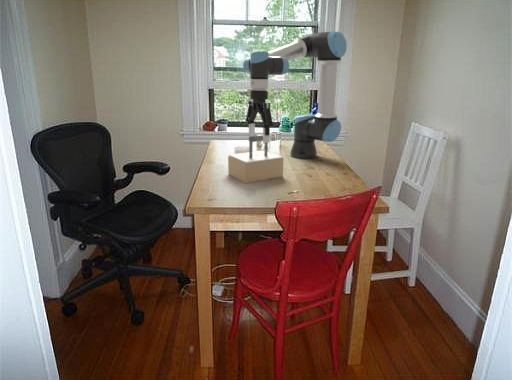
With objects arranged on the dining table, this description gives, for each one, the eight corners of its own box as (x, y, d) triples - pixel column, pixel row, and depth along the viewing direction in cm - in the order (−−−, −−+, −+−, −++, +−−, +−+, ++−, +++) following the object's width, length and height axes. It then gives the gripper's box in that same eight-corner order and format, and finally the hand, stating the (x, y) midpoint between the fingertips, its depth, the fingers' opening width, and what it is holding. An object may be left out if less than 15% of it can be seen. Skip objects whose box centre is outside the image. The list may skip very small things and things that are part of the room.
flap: (272, 154, 170) (273, 133, 167) (282, 158, 164) (283, 135, 161) (237, 159, 161) (237, 136, 158) (246, 163, 155) (246, 139, 151)
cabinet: (264, 168, 180) (264, 150, 177) (282, 177, 167) (283, 157, 164) (228, 174, 170) (228, 154, 167) (245, 183, 157) (245, 162, 154)
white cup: (236, 170, 178) (236, 150, 175) (233, 165, 185) (232, 146, 182) (252, 168, 180) (252, 149, 177) (248, 165, 187) (248, 146, 184)
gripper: (238, 88, 162) (238, 136, 169) (266, 91, 143) (265, 145, 150) (252, 88, 166) (252, 135, 173) (282, 91, 146) (280, 144, 153)
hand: (258, 140), depth 161 cm, fingers open, 11 cm apart
